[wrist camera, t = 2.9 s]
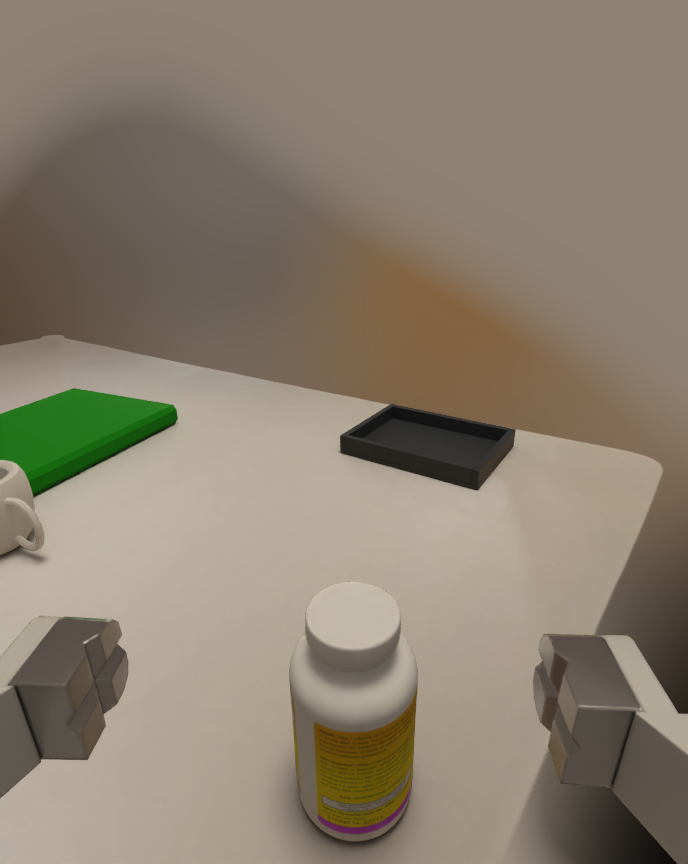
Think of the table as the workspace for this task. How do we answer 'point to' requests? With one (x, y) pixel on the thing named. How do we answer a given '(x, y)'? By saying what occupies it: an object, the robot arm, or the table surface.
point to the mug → (17, 510)
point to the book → (76, 432)
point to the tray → (430, 444)
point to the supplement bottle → (353, 711)
